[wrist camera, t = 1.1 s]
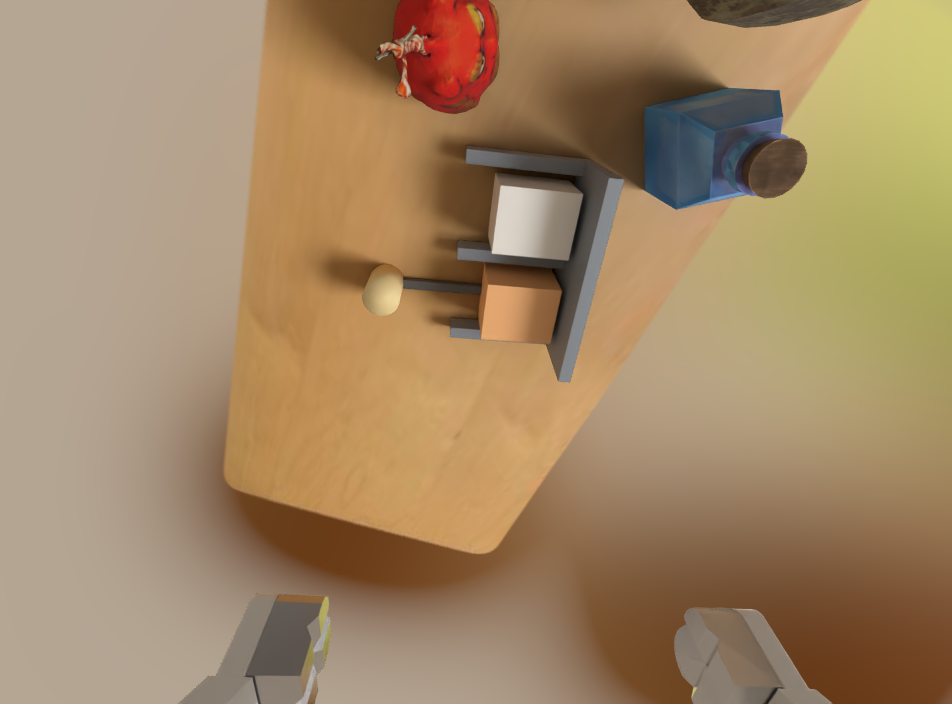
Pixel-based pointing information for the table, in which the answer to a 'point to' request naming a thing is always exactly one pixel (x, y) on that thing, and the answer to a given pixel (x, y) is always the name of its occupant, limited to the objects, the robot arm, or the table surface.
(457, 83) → the red clay folk toy
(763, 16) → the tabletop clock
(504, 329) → the tan block and knob
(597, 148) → the table surface
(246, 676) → the robot arm
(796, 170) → the perfume bottle
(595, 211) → the lane rack
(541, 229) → the white block
